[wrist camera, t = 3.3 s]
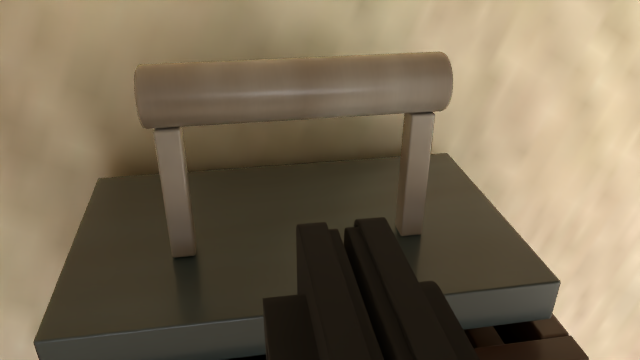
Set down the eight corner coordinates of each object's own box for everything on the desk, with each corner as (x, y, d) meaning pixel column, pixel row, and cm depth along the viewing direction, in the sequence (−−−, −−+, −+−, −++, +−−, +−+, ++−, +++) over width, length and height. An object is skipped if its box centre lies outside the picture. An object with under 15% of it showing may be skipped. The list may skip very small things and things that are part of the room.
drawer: (64, 23, 15) (-42, 120, 9) (465, 10, 17) (616, 84, 11) (155, 448, 24) (134, 650, 18) (414, 409, 26) (479, 580, 19)
